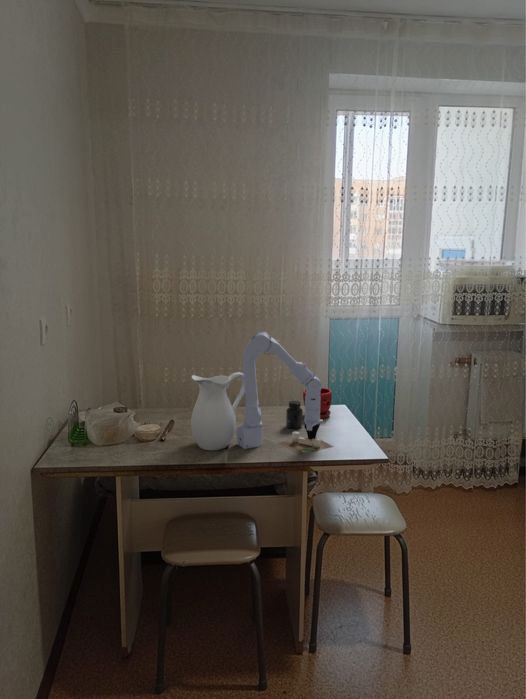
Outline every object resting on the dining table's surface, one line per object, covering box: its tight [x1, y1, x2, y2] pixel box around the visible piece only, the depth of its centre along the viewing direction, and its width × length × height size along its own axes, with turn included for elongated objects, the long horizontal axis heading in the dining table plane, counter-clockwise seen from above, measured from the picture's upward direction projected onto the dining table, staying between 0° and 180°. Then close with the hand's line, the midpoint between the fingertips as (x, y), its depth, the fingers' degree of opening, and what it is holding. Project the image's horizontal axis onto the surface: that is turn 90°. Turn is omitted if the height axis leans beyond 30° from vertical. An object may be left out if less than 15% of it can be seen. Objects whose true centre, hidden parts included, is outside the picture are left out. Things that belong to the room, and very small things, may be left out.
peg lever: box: [291, 431, 321, 448], centre depth 201 cm, size 12×3×3 cm, turn 54°
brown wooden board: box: [279, 436, 334, 455], centre depth 201 cm, size 16×14×1 cm
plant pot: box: [302, 387, 333, 419], centre depth 241 cm, size 13×13×12 cm
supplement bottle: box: [285, 400, 304, 430], centre depth 221 cm, size 7×7×12 cm
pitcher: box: [190, 371, 245, 451], centre depth 203 cm, size 24×17×28 cm
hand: (311, 442), depth 201 cm, fingers closed, pressing on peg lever
